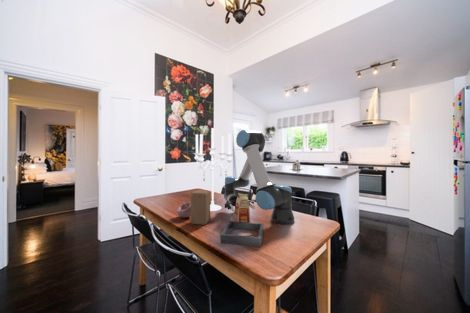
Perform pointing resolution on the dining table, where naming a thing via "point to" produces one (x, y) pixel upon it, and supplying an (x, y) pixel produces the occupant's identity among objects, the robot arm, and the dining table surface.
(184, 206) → the mortar and pestle
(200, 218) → the wooden block
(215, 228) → the dining table surface
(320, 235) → the dining table surface
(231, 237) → the carton holder
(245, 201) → the milk carton
